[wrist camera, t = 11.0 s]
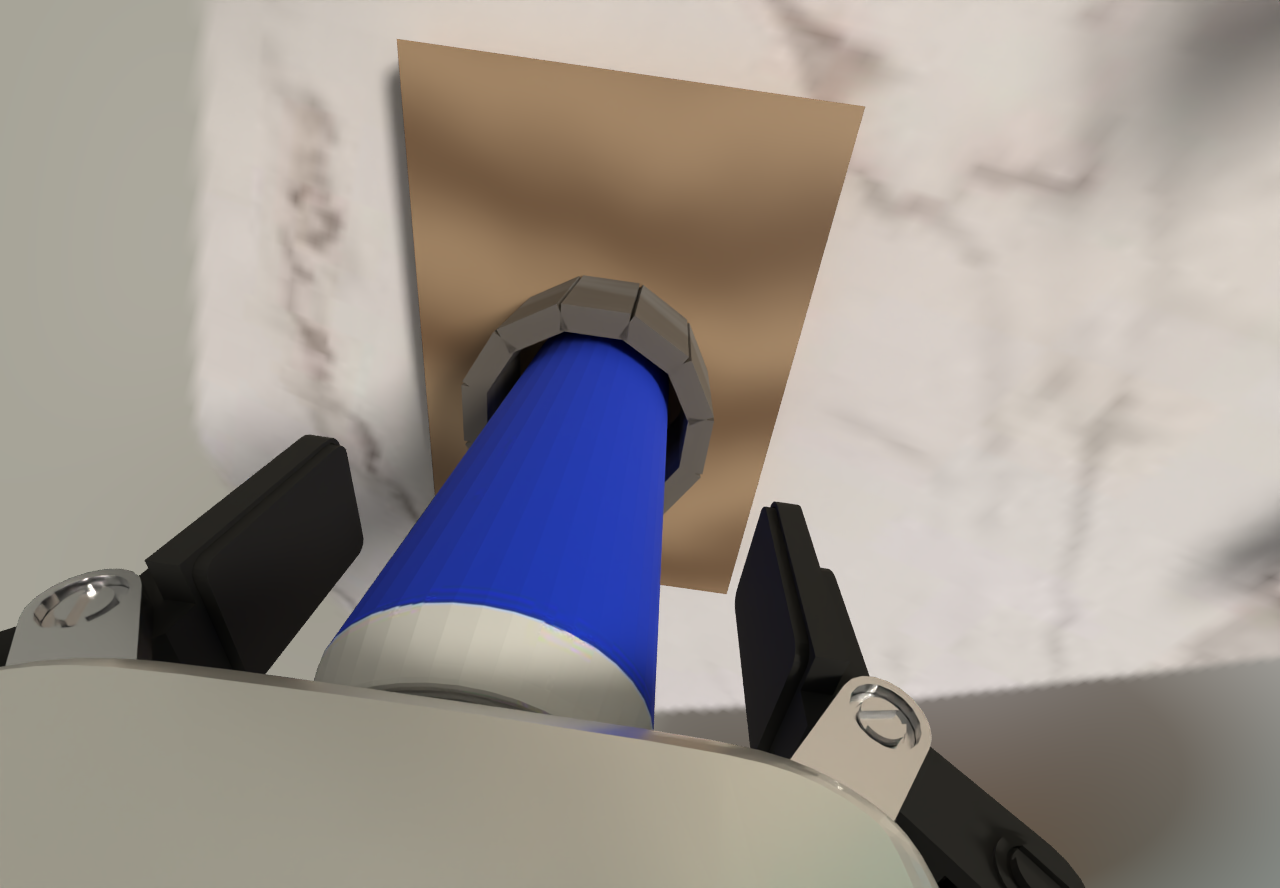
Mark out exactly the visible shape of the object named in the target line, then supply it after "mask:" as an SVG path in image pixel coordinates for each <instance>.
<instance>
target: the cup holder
mask: <svg viewBox="0 0 1280 888" xmlns="http://www.w3.org/2000/svg"><path fill="white" fill-rule="evenodd" d="M397 47H398V59H399V71H400V83H401V95H402V107H403V119H404V131H405V143H406V155H407V167H408V179H409V191H410V203H411V215H412V227H413V239H414V251H415V263H416V275H417V287H418V299H419V311H420V323H421V335H422V346H423V358H424V370H425V382H426V394H427V406H428V418H429V430H430V442H431V454H432V466H433V478H434V490H435V496H436V494H437V493H438V491H439V490H440V489H441V487H442V486H443V484H444V483H445V482H446V480H447V479H448V477H449V476H450V475H451V473H452V472H453V470H454V469H455V468H456V466H457V465H458V463H459V462H460V461H461V459H462V458H463V456H464V455H465V454H466V452H467V451H468V449H469V448H470V447H471V445H472V444H473V442H474V441H475V440H476V438H477V437H478V435H479V434H480V433H481V431H482V430H483V428H484V427H485V426H486V424H487V423H488V421H489V420H490V419H491V417H492V416H493V414H494V413H495V412H496V410H497V409H498V407H499V406H500V405H501V403H502V402H503V400H504V399H505V398H506V396H507V395H508V393H509V392H510V391H511V389H512V388H513V386H514V385H515V384H516V382H517V381H518V379H519V378H520V377H521V375H522V374H523V372H524V371H525V370H526V368H527V367H528V365H529V364H530V363H531V361H532V360H533V358H534V357H535V356H536V354H537V353H538V351H539V350H540V349H541V347H542V346H543V345H544V343H545V342H546V341H547V339H548V338H550V337H552V336H555V335H557V334H559V333H562V332H564V331H565V332H572V333H579V334H586V335H593V336H600V337H607V338H614V339H621V340H623V341H625V342H626V343H627V344H629V345H630V346H631V347H633V348H634V349H635V350H637V351H638V352H639V353H641V354H642V355H643V356H645V357H646V358H647V359H649V360H650V361H651V362H653V363H654V364H655V365H657V366H658V367H659V368H661V369H662V370H663V371H665V372H666V373H667V374H668V379H669V399H668V421H667V443H666V465H665V487H664V509H663V531H662V553H661V575H660V585H666V586H673V587H680V588H687V589H694V590H701V591H708V592H715V593H723V594H727V591H728V587H729V584H730V580H731V576H732V573H733V569H734V566H735V562H736V559H737V555H738V552H739V548H740V545H741V541H742V538H743V534H744V531H745V527H746V524H747V520H748V517H749V513H750V510H751V506H752V503H753V499H754V496H755V492H756V489H757V485H758V482H759V478H760V475H761V471H762V468H763V464H764V460H765V457H766V453H767V450H768V446H769V443H770V439H771V436H772V432H773V429H774V425H775V422H776V418H777V415H778V411H779V408H780V404H781V401H782V397H783V394H784V390H785V387H786V383H787V380H788V376H789V373H790V369H791V366H792V362H793V359H794V355H795V352H796V348H797V344H798V341H799V337H800V334H801V330H802V327H803V323H804V320H805V316H806V313H807V309H808V306H809V302H810V299H811V295H812V292H813V288H814V285H815V281H816V278H817V274H818V271H819V267H820V264H821V260H822V257H823V253H824V250H825V246H826V243H827V239H828V235H829V232H830V228H831V225H832V221H833V218H834V214H835V211H836V207H837V204H838V200H839V197H840V193H841V190H842V186H843V183H844V179H845V176H846V172H847V169H848V165H849V162H850V158H851V155H852V151H853V148H854V144H855V141H856V137H857V134H858V130H859V127H860V123H861V119H862V116H863V112H864V109H865V107H864V106H857V105H850V104H843V103H836V102H829V101H822V100H815V99H809V98H802V97H795V96H788V95H781V94H774V93H767V92H760V91H753V90H746V89H739V88H732V87H726V86H719V85H712V84H705V83H698V82H691V81H684V80H677V79H670V78H663V77H656V76H649V75H642V74H636V73H629V72H622V71H615V70H608V69H601V68H594V67H587V66H580V65H573V64H566V63H559V62H553V61H546V60H539V59H532V58H525V57H518V56H511V55H504V54H497V53H490V52H483V51H476V50H470V49H463V48H456V47H449V46H442V45H435V44H428V43H421V42H414V41H407V40H400V39H397Z"/></svg>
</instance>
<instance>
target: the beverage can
mask: <svg viewBox="0 0 1280 888" xmlns="http://www.w3.org/2000/svg"><path fill="white" fill-rule="evenodd" d="M668 399H669V379H668V374H667V373H666V372H665V371H663V370H662V369H661V368H659V367H658V366H657V365H655V364H654V363H653V362H651V361H650V360H649V359H647V358H646V357H645V356H643V355H642V354H641V353H639V352H638V351H637V350H635V349H634V348H633V347H631V346H630V345H629V344H627V343H626V342H625V341H623V340H621V339H614V338H607V337H600V336H593V335H586V334H579V333H572V332H565V331H564V332H562V333H559V334H557V335H555V336H552V337H550V338H548V339H547V341H546V342H545V343H544V345H543V346H542V347H541V349H540V350H539V351H538V353H537V354H536V356H535V357H534V358H533V360H532V361H531V363H530V364H529V365H528V367H527V368H526V370H525V371H524V372H523V374H522V375H521V377H520V378H519V379H518V381H517V382H516V384H515V385H514V386H513V388H512V389H511V391H510V392H509V393H508V395H507V396H506V398H505V399H504V400H503V402H502V403H501V405H500V406H499V407H498V409H497V410H496V412H495V413H494V414H493V416H492V417H491V419H490V420H489V421H488V423H487V424H486V426H485V427H484V428H483V430H482V431H481V433H480V434H479V435H478V437H477V438H476V440H475V441H474V442H473V444H472V445H471V447H470V448H469V449H468V451H467V452H466V454H465V455H464V456H463V458H462V459H461V461H460V462H459V463H458V465H457V466H456V468H455V469H454V470H453V472H452V473H451V475H450V476H449V477H448V479H447V480H446V482H445V483H444V484H443V486H442V487H441V489H440V490H439V491H438V493H437V494H436V496H435V497H434V498H433V500H432V501H431V503H430V504H429V505H428V507H427V508H426V510H425V511H424V512H423V514H422V515H421V517H420V518H419V519H418V521H417V522H416V524H415V525H414V526H413V528H412V529H411V531H410V532H409V534H408V535H407V536H406V538H405V539H404V541H403V542H402V543H401V545H400V546H399V548H398V549H397V550H396V552H395V553H394V555H393V556H392V557H391V559H390V560H389V562H388V563H387V564H386V566H385V567H384V569H383V570H382V571H381V573H380V574H379V576H378V577H377V578H376V580H375V581H374V583H373V584H372V585H371V587H370V588H369V590H368V591H367V592H366V594H365V595H364V597H363V598H362V599H361V601H360V602H359V604H358V605H357V606H356V608H355V609H354V611H353V612H352V613H351V615H350V616H349V618H348V619H347V620H346V622H345V623H344V625H343V626H342V627H341V629H340V630H339V632H338V633H337V634H336V636H335V637H334V639H333V640H332V641H331V643H330V644H329V646H328V647H327V648H326V650H325V651H324V654H323V656H322V659H321V661H320V664H319V666H318V668H317V672H316V675H315V678H314V681H317V682H324V683H332V684H339V685H346V686H353V687H361V688H368V689H375V690H382V691H389V692H396V693H403V694H410V695H417V696H424V697H431V698H438V699H445V700H452V701H459V702H466V703H473V704H480V705H487V706H494V707H501V708H507V709H514V710H521V711H528V712H535V713H541V714H548V715H555V716H561V717H568V718H575V719H582V720H588V721H595V722H602V723H608V724H615V725H622V726H629V727H635V728H642V729H648V730H653V729H654V707H655V685H656V663H657V641H658V619H659V597H660V575H661V553H662V531H663V509H664V487H665V465H666V443H667V421H668Z"/></svg>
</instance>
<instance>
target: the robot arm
mask: <svg viewBox="0 0 1280 888" xmlns="http://www.w3.org/2000/svg"><path fill="white" fill-rule="evenodd" d="M362 546H363V534H362V528H361V523H360V518H359V513H358V508H357V503H356V498H355V493H354V488H353V482H352V477H351V472H350V467H349V462H348V457H347V452H346V449H345V448H344V447H343V446H340V444H339V442H338V441H337V440H336V439H334V438H329V437H322V436H315V435H305V436H303V437H301V438H300V439H299V440H298V441H296V442H295V443H294V444H292V445H291V446H290V447H289V448H287V449H286V450H285V451H283V452H282V453H281V454H280V455H278V456H277V457H276V458H275V459H273V460H272V461H271V462H269V463H268V464H267V465H266V466H264V467H263V468H262V469H261V470H259V471H258V472H257V473H255V474H254V475H253V476H252V477H250V478H249V479H248V480H247V481H245V482H244V483H243V484H241V485H240V486H239V487H238V488H236V489H235V490H234V491H232V492H231V493H230V494H229V495H227V496H226V497H225V498H224V499H222V500H221V501H220V502H219V503H217V504H216V505H215V506H213V507H212V508H211V509H210V510H208V511H207V512H206V513H205V514H203V515H202V516H201V517H199V518H198V519H197V520H196V521H194V522H193V523H192V524H191V525H189V526H188V527H187V528H185V529H184V530H183V531H181V532H180V533H179V534H178V535H176V536H175V537H174V538H173V539H171V540H170V541H169V542H167V543H166V544H165V545H164V546H162V547H161V548H160V549H159V550H157V551H156V552H155V553H153V555H151V556H150V557H148V558H147V559H146V560H145V562H146V564H147V566H148V569H147V570H146V571H145V572H143V573H142V574H141V575H139V576H138V575H136V574H135V573H134V572H132V571H128V570H124V569H104V570H98V571H93V572H88V573H85V574H81V575H78V576H75V577H72V578H69V579H67V580H65V581H63V582H61V583H59V584H57V585H54V586H52V587H51V588H49V589H47V590H46V591H44V592H43V593H41V594H40V595H38V596H37V597H36V598H34V599H33V601H32V602H30V603H29V604H28V605H27V606H26V607H25V608H24V610H23V612H22V614H21V616H20V617H19V620H18V624H17V626H16V627H13V628H10V629H7V630H4V631H1V632H0V888H1085V886H1084V884H1083V883H1082V881H1081V879H1080V878H1079V876H1078V875H1077V874H1076V873H1075V871H1074V870H1073V869H1072V867H1071V866H1070V865H1069V863H1068V862H1067V861H1066V860H1065V859H1064V858H1063V857H1062V856H1061V855H1060V854H1059V853H1058V852H1057V851H1056V850H1055V849H1054V848H1053V847H1052V846H1051V845H1049V844H1048V843H1047V842H1046V841H1045V840H1043V839H1042V838H1041V837H1040V836H1038V835H1037V834H1036V833H1035V832H1034V831H1032V830H1031V829H1030V828H1029V827H1027V826H1026V825H1025V824H1024V823H1023V822H1021V821H1020V820H1019V819H1018V818H1016V817H1015V816H1014V815H1013V814H1012V813H1010V812H1009V811H1008V810H1007V809H1005V808H1004V807H1003V806H1002V805H1001V804H999V803H998V802H997V801H996V800H995V799H993V798H992V797H991V796H990V795H989V794H987V793H986V792H985V791H984V790H982V789H981V788H980V787H979V786H978V785H976V784H975V783H974V782H973V781H971V780H970V779H969V778H968V777H967V776H965V775H964V774H963V773H962V772H960V771H959V770H958V769H957V768H956V767H954V766H953V765H952V764H951V763H950V762H948V761H947V760H946V759H944V758H943V757H942V756H941V755H940V754H939V753H937V752H936V751H935V750H934V749H932V748H931V747H930V744H931V739H932V736H931V730H930V725H929V723H928V721H927V719H926V717H925V715H924V713H923V711H922V710H921V709H920V707H919V706H918V705H917V704H916V702H915V701H914V700H913V699H912V698H911V697H910V696H909V695H907V694H906V693H905V692H904V691H903V690H902V689H900V688H898V687H897V686H895V685H893V684H892V683H890V682H888V681H885V680H882V679H879V678H876V677H870V676H869V674H868V671H867V668H866V665H865V662H864V659H863V656H862V653H861V650H860V647H859V645H858V642H857V639H856V636H855V633H854V630H853V627H852V624H851V621H850V618H849V616H848V613H847V610H846V607H845V604H844V601H843V598H842V595H841V592H840V589H839V587H838V584H837V581H836V578H835V576H834V574H833V572H832V571H831V570H830V569H825V568H820V566H819V562H818V559H817V556H816V553H815V550H814V547H813V544H812V540H811V537H810V534H809V531H808V528H807V525H806V521H805V518H804V515H803V512H802V509H801V507H800V506H799V505H795V504H788V503H781V502H773V503H772V504H771V507H763V508H762V510H761V513H760V516H759V520H758V523H757V526H756V529H755V533H754V536H753V539H752V542H751V546H750V549H749V552H748V555H747V559H746V562H745V565H744V569H743V572H742V575H741V578H740V582H739V585H738V588H737V592H736V597H735V613H736V622H737V631H738V640H739V649H740V658H741V668H742V677H743V686H744V695H745V704H746V713H747V722H748V731H749V741H750V748H747V747H742V746H738V745H733V744H728V743H724V742H719V741H714V740H707V739H701V738H696V737H690V736H684V735H678V734H672V733H665V732H660V731H654V730H648V729H642V728H635V727H629V726H622V725H615V724H608V723H602V722H595V721H588V720H582V719H575V718H568V717H561V716H555V715H548V714H541V713H535V712H528V711H521V710H514V709H507V708H501V707H494V706H487V705H480V704H473V703H466V702H459V701H452V700H445V699H438V698H431V697H424V696H417V695H410V694H403V693H396V692H389V691H382V690H375V689H368V688H361V687H353V686H346V685H339V684H332V683H324V682H317V681H310V680H302V679H295V678H288V677H281V676H273V675H266V673H267V671H268V670H269V669H270V667H271V666H272V665H273V664H274V662H275V661H276V660H277V658H278V657H279V656H280V655H281V653H282V652H283V651H284V649H285V648H286V647H287V646H288V644H289V643H290V642H291V641H292V639H293V638H294V637H295V635H296V634H297V633H298V631H299V630H300V629H301V627H302V626H303V625H304V624H305V623H306V621H307V620H308V619H309V617H310V616H311V615H312V614H313V612H314V611H315V610H316V608H317V607H318V606H319V604H320V603H321V602H322V601H323V599H324V598H325V597H326V596H327V594H328V593H329V592H330V591H331V589H332V588H333V587H334V585H335V584H336V583H337V582H338V580H339V579H340V578H341V576H342V575H343V574H344V573H345V571H346V570H347V569H348V567H349V566H350V565H351V564H352V562H353V561H354V560H355V558H356V557H357V556H358V555H359V553H360V551H361V549H362Z"/></svg>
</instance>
